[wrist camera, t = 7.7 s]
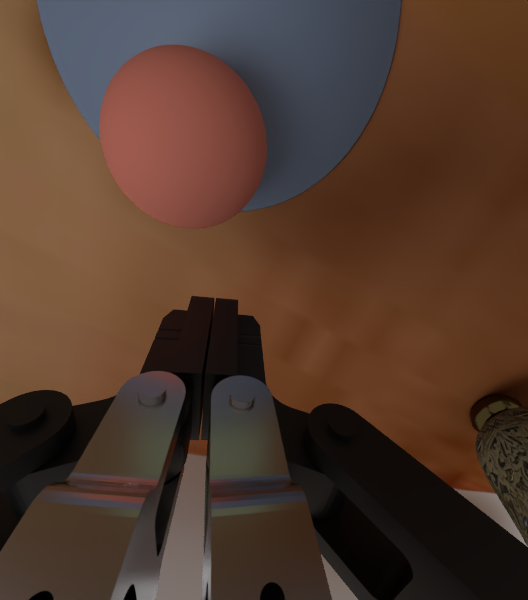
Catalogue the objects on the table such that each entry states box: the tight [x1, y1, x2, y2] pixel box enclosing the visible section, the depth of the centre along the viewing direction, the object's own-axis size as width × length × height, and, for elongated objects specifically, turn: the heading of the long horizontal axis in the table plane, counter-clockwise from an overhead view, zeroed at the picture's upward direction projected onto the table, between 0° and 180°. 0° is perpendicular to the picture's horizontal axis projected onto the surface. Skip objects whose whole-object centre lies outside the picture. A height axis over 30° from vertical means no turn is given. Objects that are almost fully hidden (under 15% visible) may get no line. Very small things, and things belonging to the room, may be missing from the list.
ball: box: [99, 44, 267, 228], centre depth 10 cm, size 6×6×6 cm
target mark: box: [37, 0, 401, 211], centre depth 11 cm, size 13×13×1 cm
